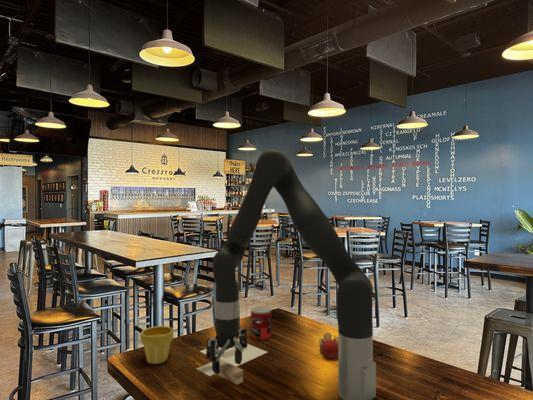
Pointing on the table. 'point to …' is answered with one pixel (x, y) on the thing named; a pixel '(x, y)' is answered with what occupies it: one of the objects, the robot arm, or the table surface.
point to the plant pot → (157, 343)
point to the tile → (230, 351)
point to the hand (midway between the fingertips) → (227, 367)
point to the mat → (243, 355)
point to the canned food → (261, 323)
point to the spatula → (225, 372)
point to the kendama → (329, 346)
